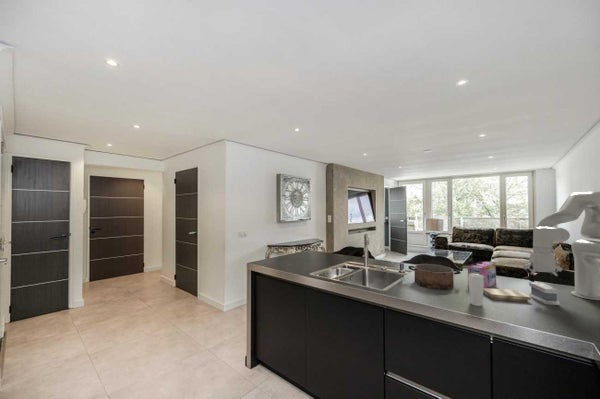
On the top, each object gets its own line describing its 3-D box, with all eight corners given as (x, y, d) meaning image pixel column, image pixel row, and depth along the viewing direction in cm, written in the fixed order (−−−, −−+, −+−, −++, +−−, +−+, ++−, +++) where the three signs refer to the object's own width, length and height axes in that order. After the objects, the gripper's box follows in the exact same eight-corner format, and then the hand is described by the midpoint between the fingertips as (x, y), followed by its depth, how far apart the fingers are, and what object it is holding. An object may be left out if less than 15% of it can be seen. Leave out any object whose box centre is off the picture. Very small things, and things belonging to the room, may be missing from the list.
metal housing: (541, 297, 143) (541, 282, 143) (559, 305, 131) (558, 289, 131) (529, 296, 144) (529, 282, 144) (545, 304, 132) (545, 289, 132)
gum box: (483, 280, 173) (483, 260, 174) (497, 283, 167) (497, 262, 167) (467, 287, 160) (467, 265, 160) (481, 290, 153) (481, 267, 154)
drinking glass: (479, 308, 127) (479, 277, 128) (465, 303, 133) (465, 274, 134) (487, 305, 131) (486, 276, 131) (472, 301, 137) (472, 273, 137)
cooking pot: (457, 282, 170) (456, 266, 170) (464, 293, 149) (464, 274, 149) (408, 277, 181) (408, 262, 181) (408, 286, 160) (408, 269, 161)
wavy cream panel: (518, 295, 145) (517, 290, 145) (530, 302, 134) (530, 297, 134) (482, 293, 149) (482, 287, 149) (491, 300, 138) (491, 294, 138)
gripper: (556, 250, 140) (556, 281, 139) (519, 248, 143) (519, 278, 143) (567, 252, 132) (567, 285, 132) (528, 250, 136) (528, 282, 136)
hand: (542, 282), depth 137 cm, fingers open, 9 cm apart
